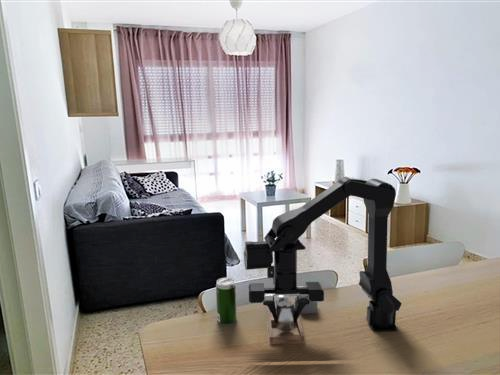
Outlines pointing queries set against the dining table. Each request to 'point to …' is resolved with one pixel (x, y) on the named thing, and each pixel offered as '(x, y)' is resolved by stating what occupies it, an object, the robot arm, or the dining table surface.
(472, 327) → the dining table surface
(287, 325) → the billet
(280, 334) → the pallet
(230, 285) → the green soda can
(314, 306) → the grey square block
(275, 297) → the seated billet
